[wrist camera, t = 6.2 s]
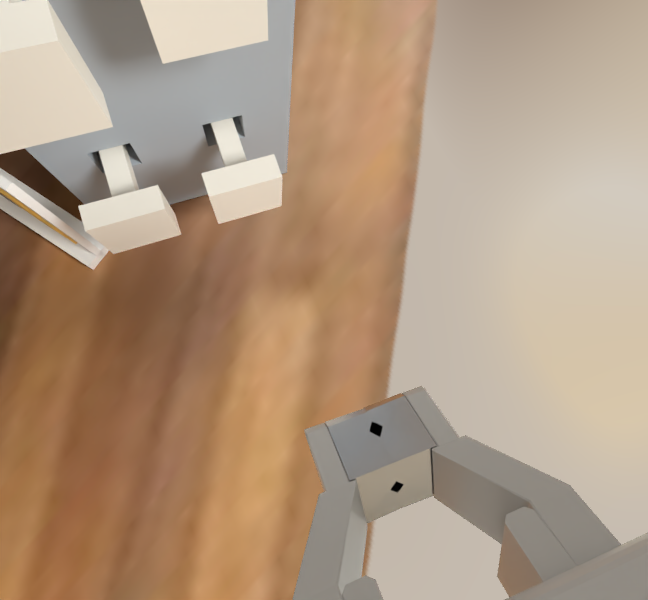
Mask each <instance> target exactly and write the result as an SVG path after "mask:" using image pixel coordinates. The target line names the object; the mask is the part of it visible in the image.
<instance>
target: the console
mask: <svg viewBox="0 0 648 600" xmlns="http://www.w3.org/2000/svg"><path fill="white" fill-rule="evenodd" d="M22 1H26V0H22ZM48 1H49V3H50V5H51V6H52V8H53V10H54V11H55V13H56V15H57V16H58V18H59V20H60V21H61V23H62V25H63V26H64V28H65V30H66V31H67V33H68V35H69V36H70V38H71V40H72V42H73V43H74V45H75V47H76V48H77V50H78V52H79V53H80V55H81V57H82V58H83V60H84V62H85V63H86V65H87V67H88V68H89V70H90V72H91V73H92V75H93V77H94V79H95V80H96V82H97V84H98V85H99V87H100V89H101V90H102V92H103V94H104V98H105V101H106V105H107V108H108V111H109V115H110V118H111V121H112V125H113V127H111V128H107V129H103V130H99V131H94V132H90V133H86V134H82V135H78V136H74V137H70V138H65V139H61V140H57V141H53V142H49V143H45V144H41V145H36V146H32V147H28V148H25V149H26V150H27V151H28V152H29V153H30V154H31V155H32V156H33V157H34V158H35V159H37V160H38V161H39V162H40V163H41V164H42V165H43V166H44V167H45V168H46V169H47V170H48V171H49V172H50V173H51V174H53V175H54V176H55V177H56V178H57V179H58V180H59V181H60V182H61V183H62V184H63V185H64V186H65V187H66V188H67V189H68V190H70V191H71V192H72V193H73V194H74V195H75V196H76V197H77V198H78V199H79V200H80V201H81V202H82V203H83V204H88V203H91V202H95V201H99V200H103V199H107V198H110V197H112V195H111V192H110V188H109V185H108V181H107V178H106V175H105V171H104V168H103V164H102V161H101V157H100V154H99V151H100V150H104V149H108V148H112V147H116V146H120V145H124V144H126V148H127V151H128V154H129V158H130V161H131V164H132V168H133V171H134V174H135V178H136V181H137V184H138V188H139V190H140V189H144V188H148V187H152V186H155V185H158V186H159V188H160V190H161V191H162V193H163V195H164V196H165V198H166V200H167V201H168V203H169V205H170V204H174V203H177V202H181V201H185V200H188V199H192V198H196V197H199V196H203V195H207V194H208V193H207V190H206V187H205V183H204V180H203V177H202V174H201V173H204V172H208V171H212V170H216V169H219V168H223V167H224V164H223V161H222V158H221V155H220V152H219V149H218V146H217V143H216V140H215V137H214V134H213V131H212V128H211V125H210V123H212V122H216V121H221V120H225V119H229V118H233V121H234V124H235V127H236V130H237V133H238V136H239V139H240V141H241V144H242V147H243V150H244V153H245V156H246V159H247V161H249V160H253V159H257V158H261V157H265V156H268V155H272V154H274V155H275V158H276V160H277V163H278V166H279V169H280V172H281V174H283V173H287V158H288V138H289V117H290V97H291V76H292V56H293V35H294V15H295V0H267V7H268V41H263V42H259V43H254V44H250V45H245V46H241V47H236V48H232V49H227V50H223V51H218V52H214V53H209V54H205V55H200V56H196V57H191V58H187V59H182V60H178V61H174V62H169V63H165V64H163V63H162V60H161V58H160V55H159V52H158V49H157V46H156V43H155V41H154V38H153V35H152V32H151V29H150V27H149V24H148V21H147V18H146V15H145V12H144V10H143V7H142V4H141V1H140V0H48Z"/></svg>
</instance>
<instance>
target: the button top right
mask: <svg viewBox="0 0 648 600" xmlns="http://www.w3.org/2000/svg"><path fill="white" fill-rule="evenodd" d="M140 1H141V4H142V7H143V10H144V12H145V15H146V18H147V21H148V24H149V27H150V29H151V32H152V35H153V38H154V41H155V43H156V46H157V49H158V52H159V55H160V58H161V60H162V63H163V64H165V63H169V62H174V61H178V60H182V59H187V58H191V57H196V56H200V55H205V54H209V53H214V52H218V51H223V50H227V49H232V48H236V47H241V46H245V45H250V44H254V43H259V42H263V41H268V7H267V0H140Z"/></svg>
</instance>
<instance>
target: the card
mask: <svg viewBox="0 0 648 600" xmlns="http://www.w3.org/2000/svg"><path fill="white" fill-rule="evenodd" d="M0 209H2V210H3V211H5V212H6V213H8V214H9V215H11V216H12V217H14V218H15V219H17V220H18V221H20V222H21V223H23V224H24V225H26V226H27V227H29V228H30V229H32V230H33V231H35V232H36V233H38V234H39V235H41V236H43V237H44V238H46V239H47V240H49V241H50V242H52V243H53V244H55V245H56V246H58V247H59V248H61V249H62V250H64V251H65V252H67V253H68V254H70V255H71V256H73V257H74V258H76V259H77V260H79V261H80V262H82V263H83V264H85V265H87V266H88V267H90V268H91V269H93V270H94V269H95V267H96V266H97V265H98V264H99V262H100V261H101V260H102V259H103V257H104V256H105V255H106V254H107V253H108V251H109V250H108V249H107V248H106V247H104V246H103V245H102V244H101V243H99V242H98V241H97V240H96V239H94V238H93V237H92V236H91V235H90V234H88V233H87V232H86V231H85V229H84V225H83V222H82V221H80V220H78V219H77V218H75V217H74V216H72V215H71V214H69V213H68V212H66V211H65V210H63V209H62V208H60V207H59V206H57V205H56V204H54V203H53V202H51V201H50V200H48V199H47V198H45V197H44V196H42V195H40V194H39V193H37V192H36V191H34V190H33V189H31V188H30V187H28V186H27V185H25V184H24V183H22V182H21V181H19V180H18V179H16V178H15V177H13V176H12V175H10V174H9V173H7V172H5V171H4V170H2V169H1V168H0Z"/></svg>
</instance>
